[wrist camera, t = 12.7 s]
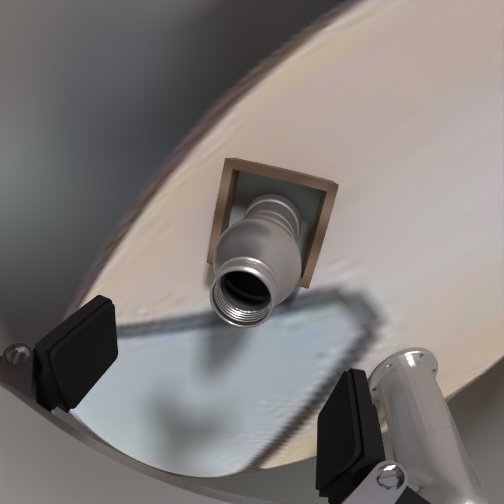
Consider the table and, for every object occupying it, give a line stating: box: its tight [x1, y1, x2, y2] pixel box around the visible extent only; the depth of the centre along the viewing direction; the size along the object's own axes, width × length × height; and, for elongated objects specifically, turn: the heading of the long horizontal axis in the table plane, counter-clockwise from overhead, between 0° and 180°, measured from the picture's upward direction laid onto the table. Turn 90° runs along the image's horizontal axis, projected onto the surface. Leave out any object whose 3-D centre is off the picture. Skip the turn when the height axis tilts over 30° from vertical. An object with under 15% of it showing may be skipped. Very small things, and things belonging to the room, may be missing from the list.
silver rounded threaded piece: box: [210, 194, 302, 328], centre depth 24 cm, size 6×7×20 cm
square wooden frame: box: [207, 158, 339, 288], centre depth 32 cm, size 12×12×4 cm
